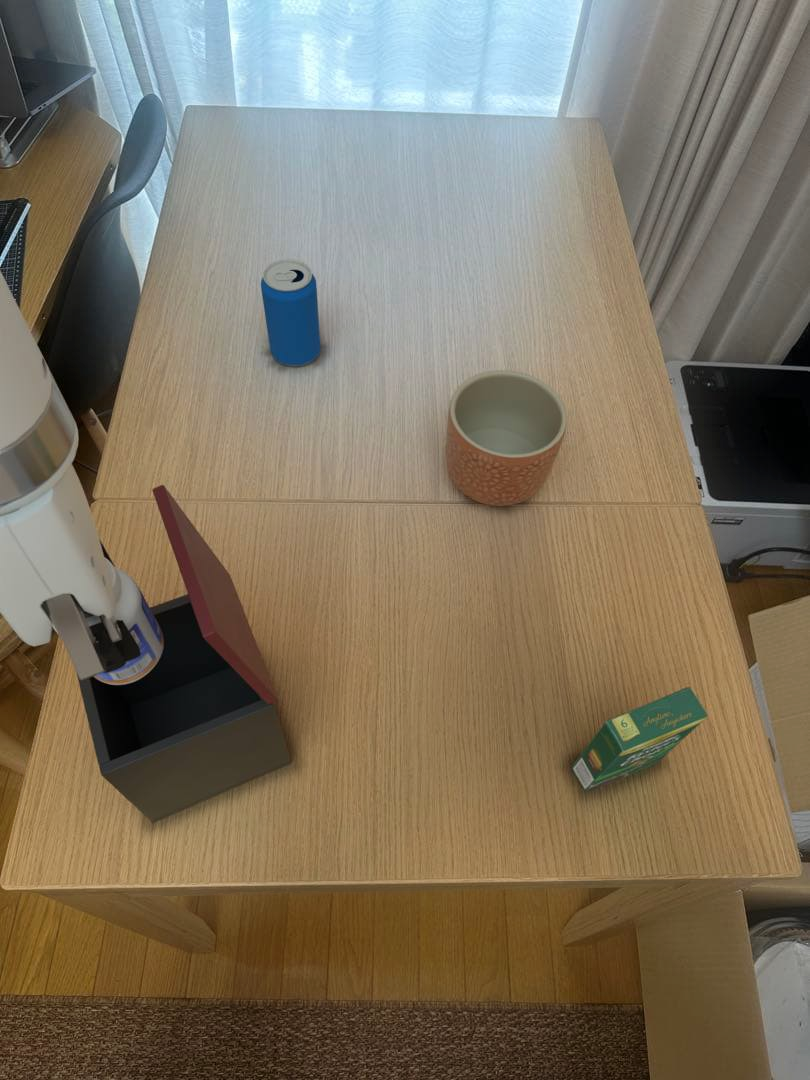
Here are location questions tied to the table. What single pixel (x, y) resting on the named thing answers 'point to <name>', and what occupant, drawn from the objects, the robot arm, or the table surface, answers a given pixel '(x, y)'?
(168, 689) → the dark gray box
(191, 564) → the keepsake box lid
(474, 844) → the table surface
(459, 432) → the planter
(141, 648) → the pill bottle
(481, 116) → the table surface
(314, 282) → the beverage can
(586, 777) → the coffee box
